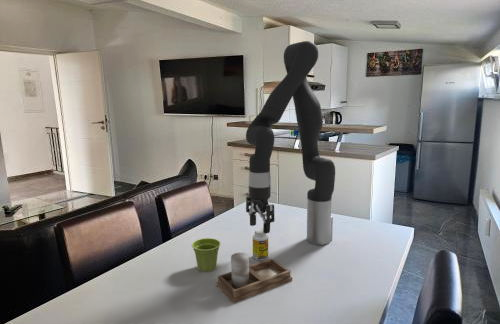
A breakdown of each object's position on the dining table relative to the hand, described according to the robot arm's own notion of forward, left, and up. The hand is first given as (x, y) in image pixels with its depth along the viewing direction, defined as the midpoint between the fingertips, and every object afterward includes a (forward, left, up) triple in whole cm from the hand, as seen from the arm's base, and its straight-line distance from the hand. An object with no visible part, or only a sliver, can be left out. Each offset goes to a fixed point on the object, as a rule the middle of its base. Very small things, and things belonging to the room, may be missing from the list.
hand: (259, 229), depth 117 cm
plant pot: (+19, -4, -11) cm, 22 cm away
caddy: (+11, +13, -11) cm, 20 cm away
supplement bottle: (0, 0, -11) cm, 11 cm away
